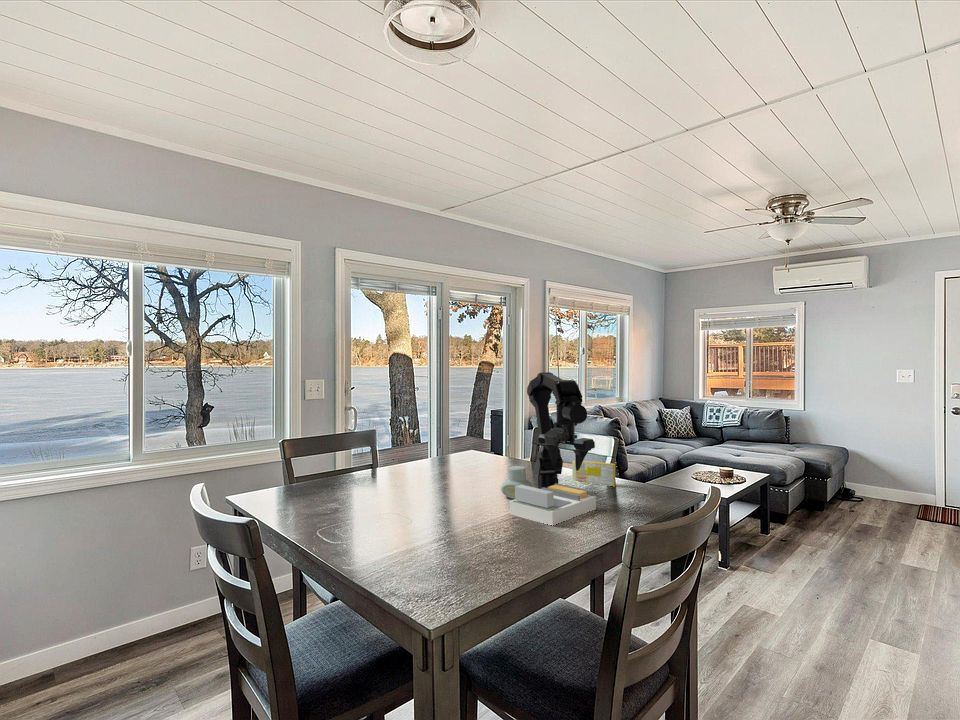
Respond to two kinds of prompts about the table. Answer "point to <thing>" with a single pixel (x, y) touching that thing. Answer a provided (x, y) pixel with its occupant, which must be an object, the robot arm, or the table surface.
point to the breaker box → (555, 507)
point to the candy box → (594, 473)
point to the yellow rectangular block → (569, 490)
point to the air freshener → (514, 481)
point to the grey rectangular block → (534, 496)
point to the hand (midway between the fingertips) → (565, 467)
